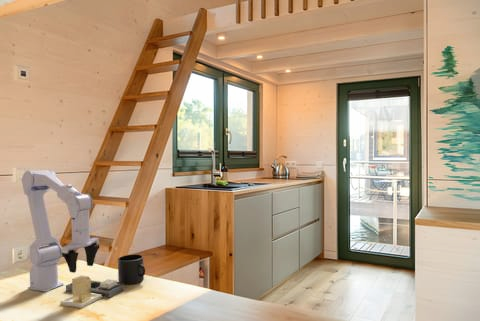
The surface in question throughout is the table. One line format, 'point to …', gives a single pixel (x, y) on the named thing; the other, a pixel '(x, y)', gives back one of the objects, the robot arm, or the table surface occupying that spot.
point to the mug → (130, 269)
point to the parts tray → (70, 302)
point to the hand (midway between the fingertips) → (81, 268)
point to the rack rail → (102, 287)
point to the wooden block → (81, 289)
